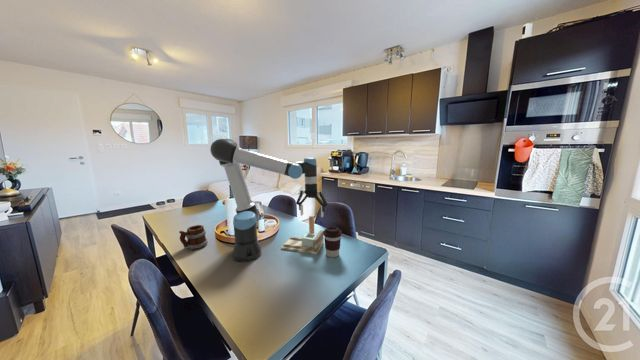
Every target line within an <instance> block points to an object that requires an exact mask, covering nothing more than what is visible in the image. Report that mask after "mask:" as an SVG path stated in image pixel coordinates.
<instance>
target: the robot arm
mask: <svg viewBox="0 0 640 360" xmlns="http://www.w3.org/2000/svg"><path fill="white" fill-rule="evenodd" d="M209 150H210V154H211V156H212V157H213V158H214V159H215V160H217V161H218V163H219V164H220V165H219V166H221V167H223V168H224V171H225V174H226V177H227V180H228V183H229V186H230V189H231V193H232V195H233V198H234V200H235V204H236V208H235V213H236V214H235V215H234V216H233V219H232V220H233V221H232V224H233V233H234V234H233V235H234V247H233V251H232V259H233V260H234V261H236V262H241V263H243V262H246V263H247V262H250V261H254V260H256V259H258V258H259V257H260V256H261V255H262V248H261V246H260V245H261V244H260V242H259V240H258V225H259V221H260V217H261V214H260V211H259V209H258V208H257V205H256V203H255V202H253V201H252V199H251V196H250V195H251V194H250V192H249V189H248V186H247V183H246V180H245V179H246V178H245V177H244V174H243V173H244V172H243V169H242V167H241V165H246V166H248V167H253V168H256V169H260V170H265V171H269V172H272V173H275V174H279V175H284V176H287V177H290V178H291V179H293V180H294V179H296V180H298V179H300V178H301V177H302V175H304V183H305V184H304V189H305V190H304V189H300V190H299V191H300V193H299V195H298V197H297V200H296V201H295V205H297V206H298V210H299V211H300V216H301V217H302V216H303V215H304V204H303V203H304V202H305V201H306V200H307V198H309V199H310V198H311V199H315V200H316V201H317V203H319V205H320V218H323V217H324V212H325V210H326V207H327V206H328V205H329V204H328V202H327V199H326V198H325V195H324V193H323V190H318V173H317V171H318V170H317V169H318V167H317V166H318V165H317V159H316V157H304V158H303V161H287V160H283V159H279V158H276V157H273V156H269V155H265V154H262V153H258V152H255V151H250V150H247V149H244V148H241V147H240V145H239V144H238V143H237V142H236V141H235V140H233V139H230V138H218V139H216V140H214V141H213V142H212V143H211V145H210V148H209ZM303 195H305V196H304V197H303Z"/></svg>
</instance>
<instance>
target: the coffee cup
mask: <svg viewBox="0 0 640 360" xmlns="http://www.w3.org/2000/svg"><path fill="white" fill-rule="evenodd" d="M342 233H343V232H342V230H341V229H340V228H338V227H337V226H328V227H326V228H325V229H324V230H323V234H324V248H325V255H326V256H327V257H329V258H337V257H338V256H339V255H340V249H341V239H342V238H341V237H342V235H343V234H342Z"/></svg>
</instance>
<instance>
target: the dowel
mask: <svg viewBox="0 0 640 360" xmlns="http://www.w3.org/2000/svg"><path fill="white" fill-rule="evenodd" d="M308 226H309V227H308V230H309V231H308V233H314V234H315V216H314V215H309V216H308Z"/></svg>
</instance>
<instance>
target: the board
mask: <svg viewBox="0 0 640 360" xmlns="http://www.w3.org/2000/svg"><path fill="white" fill-rule="evenodd" d="M323 231H324V230H321V229H320V230H318V233H316V234H317V235H316V237H315V238H314V239H313V248H311V247H303V246H302V237H297V236H296V237H295V236H290V237H289V238H288V239H287V240H286V241H285V242H284V243H283V244H282V245H281V246H280V249H281V250H286V251H292V252H299V253H305V254H312V255H317V254H318V253H319V252H320V250H321V248H322V246H323V245H324V244H325V240H324V237H325V236H324V234H323Z"/></svg>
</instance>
